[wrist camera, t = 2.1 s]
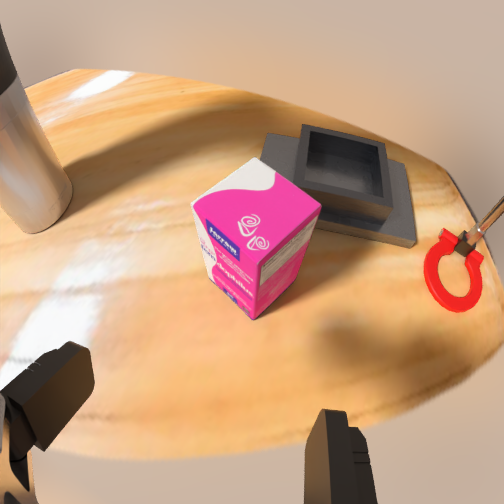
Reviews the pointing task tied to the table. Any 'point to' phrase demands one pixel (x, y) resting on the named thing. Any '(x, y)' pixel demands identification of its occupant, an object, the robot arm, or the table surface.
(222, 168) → the table surface
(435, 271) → the tow hook
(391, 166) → the socket plate
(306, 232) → the supplement box
